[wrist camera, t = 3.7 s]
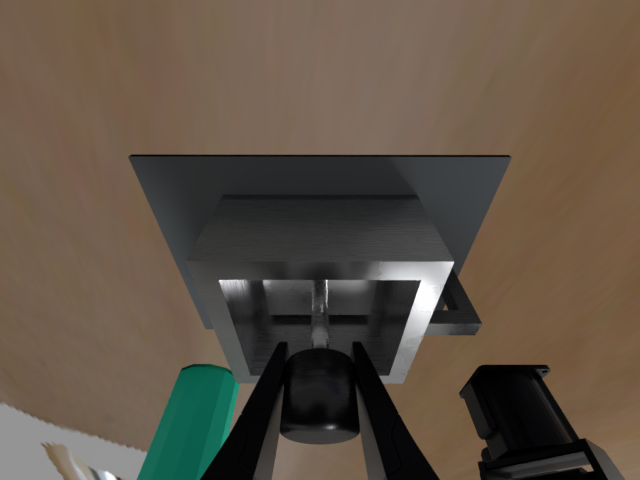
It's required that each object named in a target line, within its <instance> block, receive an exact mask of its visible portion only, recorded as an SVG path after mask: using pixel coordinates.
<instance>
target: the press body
mask: <svg viewBox="0 0 640 480" xmlns="http://www.w3.org/2000/svg"><path fill="white" fill-rule="evenodd" d="M186 264H187V266H188V268H189V271H190V273H191V276H192V278H193V280H194V283H195V285H196V288H197V290H198V292H199V295H200V297H201V300H202V302H203V304H204V307H205V309H206V312H207V314H208V316H209V319H210V321H211V324H212V326H213V328H214V331H215V333H216V336H217V338H218V340H219V343H220V345H221V348H222V350H223V352H224V355H225V357H226V360H227V362H228V364H229V367H230V369H231V372H232V374H233V376H234V379H235V381H236V383H257V382H258V380H259V378H260V376H261V374H262V372H263V371H264V369H265V367H266V365H267V363H268V361H269V359H270V357H271V355H272V354H273V352H274V350H275V348H276V346H277V344H278V343H279V342H280V341H287V342H288V348H289V357H291V356H292V355H293V354H295V353H297V352H299V351H302V350H306V349H310V341H311V315H269V311H268V306H267V301H266V295H265V290H264V285H263V280H377V284H376V289H375V294H374V300H373V305H372V310H371V315H329V349H334V350H337V351H340V352H343V353H345V354H346V355H348V356H349V357H350V358H351V346H352V342H353V341H360V342H361V343H362V345H363V346H364V348H365V350H366V352H367V354H368V356H369V358H370V360H371V362H372V363H373V365H374V367H375V369H376V371H377V373H378V375H379V377H380V379H381V380H382V382H383V384H403V383H404V380H405V378H406V376H407V373H408V371H409V369H410V366H411V364H412V361H413V359H414V357H415V354H416V352H417V349H418V347H419V345H420V342H421V340H422V338H423V335H476V333H477V332H478V330H479V328H480V327H481V325H482V322H481V320H480V318H479V316H478V315H477V313H476V311H475V309H474V307H473V305H472V303H471V301H470V300H469V298H468V296H467V294H466V292H465V290H464V288H463V287H462V285H461V283H460V281H459V279H458V277H457V275H456V274H455V272H454V270H453V268H452V266H453V264H454V260H453V258H452V256H451V255H450V253H449V251H448V249H447V247H446V246H445V244H444V242H443V240H442V238H441V237H440V235H439V233H438V231H437V229H436V228H435V226H434V224H433V222H432V221H431V219H430V217H429V215H428V213H427V212H426V210H425V208H424V206H423V204H422V203H421V201H420V199H419V197H418V195H222V197H221V199H220V201H219V202H218V204H217V206H216V208H215V210H214V211H213V213H212V215H211V217H210V219H209V220H208V222H207V224H206V226H205V227H204V229H203V231H202V233H201V235H200V236H199V238H198V240H197V242H196V244H195V245H194V247H193V249H192V251H191V252H190V254H189V256H188V258H187V260H186ZM440 295H442V297H443V299H444V302H445V304H446V306H447V308H448V310H434V309H435V307H436V304H437V302H438V300H439V297H440Z"/></svg>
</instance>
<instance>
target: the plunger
mask: <svg viewBox="0 0 640 480" xmlns="http://www.w3.org/2000/svg"><path fill="white" fill-rule="evenodd" d="M376 284H377V280H263V285H264V290H265V295H266V301H267V306H268V311H269V315H311V341H310V349H306V350H302V351H299V352H297V353H295V354H293V355H292V356H291V357H289V359H288V360H287V362H286V370H285V380H284V390H283V400H282V410H281V420H280V434H281V435H282V436H283V437H285V438H286V439H289V440H291V441H295V442H299V443H304V444H315V445H325V444H335V443H341V442H345V441H348V440H351V439H353V438H355V437H356V436H358V435H359V433H360V423H359V413H358V403H357V393H356V383H355V372H354V363H353V360H352V359H351V358H350V357H349V356H348V355H346V354H345V353H343V352H340V351H337V350H334V349H329V315H371V310H372V305H373V300H374V294H375V289H376Z"/></svg>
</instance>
